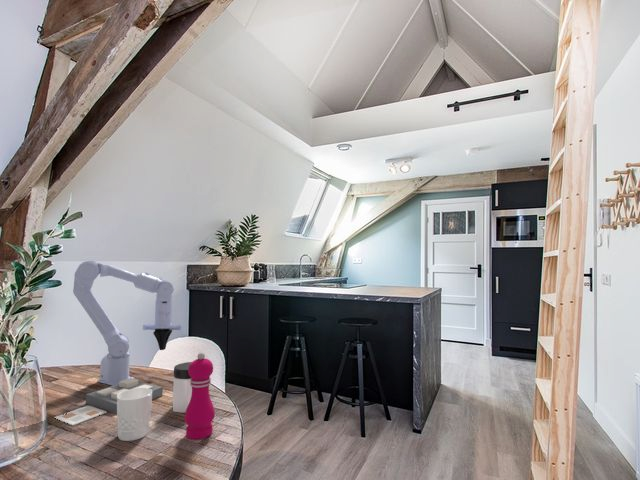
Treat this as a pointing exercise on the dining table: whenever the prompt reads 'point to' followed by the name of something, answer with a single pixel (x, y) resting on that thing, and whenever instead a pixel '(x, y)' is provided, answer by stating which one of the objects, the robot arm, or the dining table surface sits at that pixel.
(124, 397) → the white cup
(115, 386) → the button board
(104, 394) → the button
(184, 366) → the jar
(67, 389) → the dining table surface
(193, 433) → the pepper mill
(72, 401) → the dining table surface
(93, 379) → the dining table surface
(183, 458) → the dining table surface
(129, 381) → the button
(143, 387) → the button
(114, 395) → the button
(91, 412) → the card
